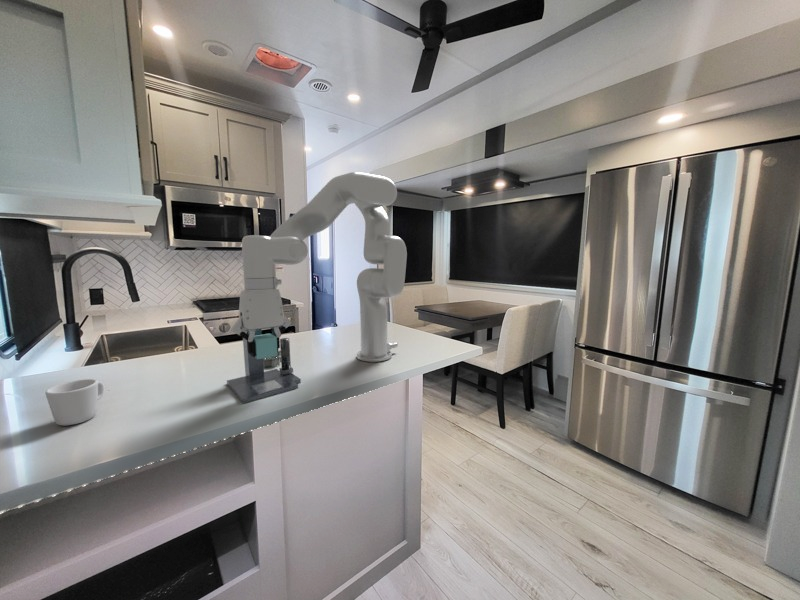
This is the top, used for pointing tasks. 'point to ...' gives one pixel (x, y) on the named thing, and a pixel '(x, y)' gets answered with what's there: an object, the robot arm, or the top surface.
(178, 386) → the top surface
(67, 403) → the cup
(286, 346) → the lever
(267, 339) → the teal cube block
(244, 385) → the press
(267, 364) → the egg carton
